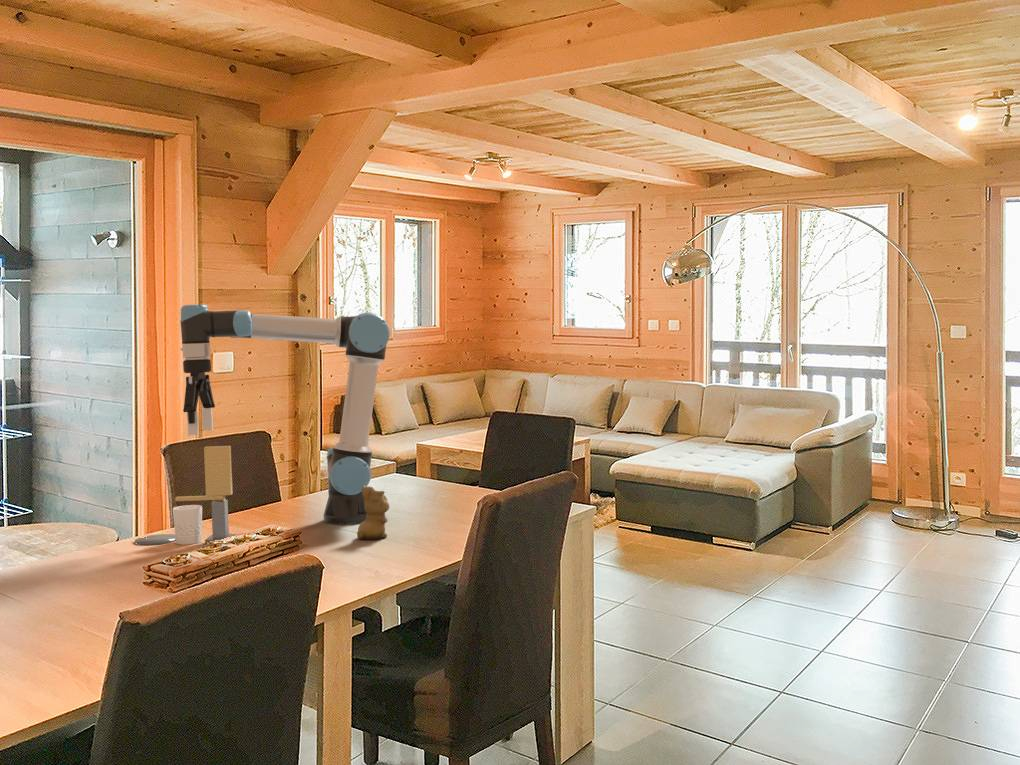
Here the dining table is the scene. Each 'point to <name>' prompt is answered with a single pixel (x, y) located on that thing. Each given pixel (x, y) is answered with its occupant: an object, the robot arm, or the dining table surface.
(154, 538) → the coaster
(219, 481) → the tan l-shaped bracket
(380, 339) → the robot arm
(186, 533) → the white cup
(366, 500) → the figurine
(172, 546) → the dining table surface
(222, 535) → the post
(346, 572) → the dining table surface
